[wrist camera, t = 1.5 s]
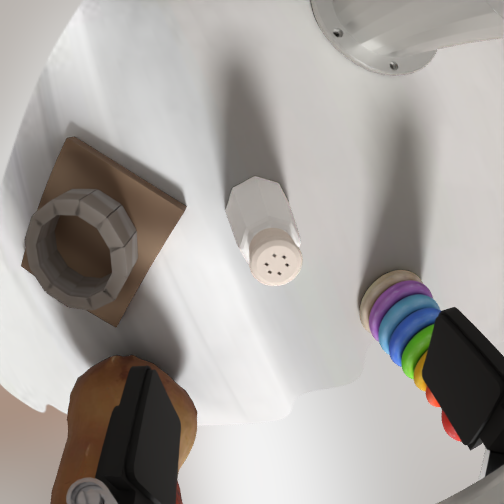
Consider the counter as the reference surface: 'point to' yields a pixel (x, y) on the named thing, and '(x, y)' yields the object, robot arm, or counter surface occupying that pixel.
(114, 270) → the shaft housing
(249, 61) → the counter surface
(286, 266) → the pepper shaker
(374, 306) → the stacking toy
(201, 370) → the counter surface
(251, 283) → the counter surface
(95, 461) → the butternut squash
